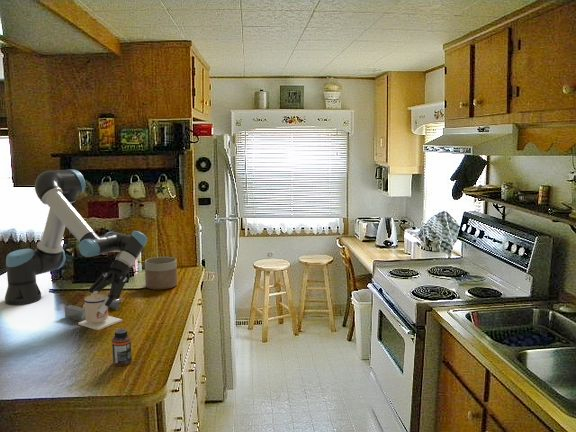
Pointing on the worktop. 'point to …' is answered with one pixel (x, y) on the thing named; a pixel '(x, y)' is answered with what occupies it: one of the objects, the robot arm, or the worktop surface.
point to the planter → (161, 273)
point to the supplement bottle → (121, 348)
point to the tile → (100, 323)
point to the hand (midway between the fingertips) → (92, 310)
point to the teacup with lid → (95, 307)
